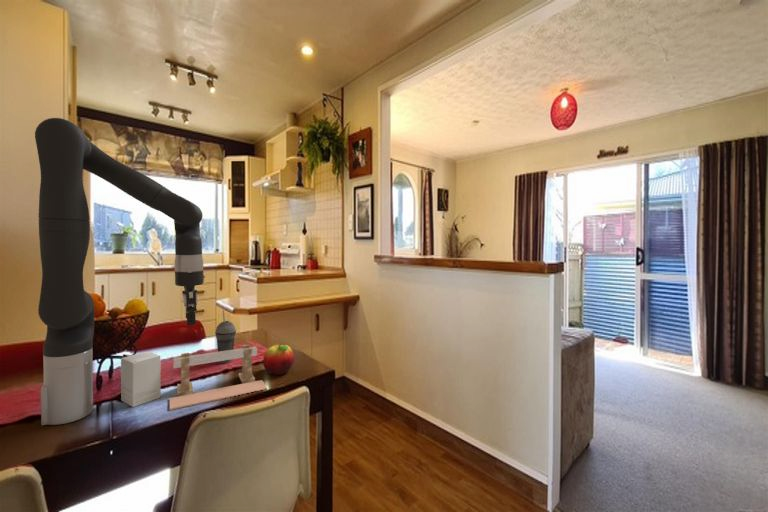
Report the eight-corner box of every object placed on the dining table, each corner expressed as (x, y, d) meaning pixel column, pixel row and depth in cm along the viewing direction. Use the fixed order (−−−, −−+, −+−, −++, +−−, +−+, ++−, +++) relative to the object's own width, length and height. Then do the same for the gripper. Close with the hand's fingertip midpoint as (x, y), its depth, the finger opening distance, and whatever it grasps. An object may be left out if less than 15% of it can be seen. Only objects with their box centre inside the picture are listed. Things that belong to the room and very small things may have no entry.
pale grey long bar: (173, 368, 99) (173, 360, 99) (173, 365, 101) (173, 358, 101) (257, 355, 112) (257, 348, 112) (255, 353, 114) (255, 346, 114)
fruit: (284, 363, 126) (285, 338, 126) (299, 372, 119) (300, 345, 118) (257, 370, 119) (258, 343, 118) (271, 380, 111) (271, 351, 110)
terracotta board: (169, 410, 90) (169, 408, 90) (169, 399, 96) (169, 398, 96) (267, 389, 104) (267, 388, 104) (262, 381, 110) (262, 379, 110)
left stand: (177, 396, 98) (177, 360, 98) (177, 387, 103) (177, 353, 103) (193, 393, 100) (193, 357, 100) (191, 385, 106) (192, 351, 105)
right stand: (242, 383, 108) (242, 350, 107) (238, 376, 113) (239, 345, 113) (254, 381, 110) (255, 348, 110) (251, 374, 116) (251, 343, 115)
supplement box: (161, 397, 97) (161, 355, 97) (132, 408, 91) (132, 363, 90) (149, 390, 101) (149, 350, 100) (120, 400, 95) (120, 357, 94)
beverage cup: (227, 365, 122) (228, 312, 121) (210, 363, 123) (210, 311, 122) (239, 359, 129) (240, 308, 128) (223, 357, 131) (224, 307, 130)
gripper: (174, 267, 104) (175, 318, 105) (175, 272, 92) (176, 329, 93) (201, 266, 108) (202, 315, 109) (205, 271, 96) (206, 325, 97)
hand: (190, 321), depth 101 cm, fingers open, 8 cm apart
